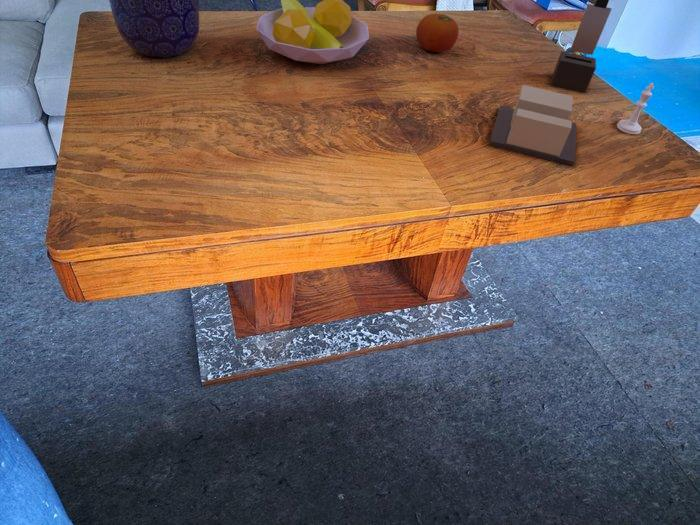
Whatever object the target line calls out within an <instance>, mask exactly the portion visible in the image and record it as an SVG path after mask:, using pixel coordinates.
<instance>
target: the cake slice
mask: <svg viewBox="0 0 700 525" xmlns="http://www.w3.org/2000/svg"><path fill="white" fill-rule="evenodd" d="M572 123H573V121H572V120H570V119H568V120H566V119H561V118H557V117H553V116H549V115H544V114H540V113H536V112H532V111H527V110H523V109H519V108H518V109H517V112H516V115H515V118H514V120H513V123H512V126H511V129H510V132H509V135H508V139H507V144H511V145H515V146H519V147H523V148H527V149H531V150H535V151H539V152H543V153H547V154H551V155H555V156H560V153H561V151H562V149H563V146H564V144H565V142H566V140H567V137H568V135H569V133H570V130H571V125H572Z"/></svg>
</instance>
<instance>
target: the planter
mask: <svg viewBox="0 0 700 525" xmlns="http://www.w3.org/2000/svg"><path fill="white" fill-rule="evenodd" d="M108 2H109V6H110V10H111V13H112V17H113V19H114V20H113V21H114V23H115V26H116V28H117V30H118V33H119V35H120V36H121V37H122V39H123V41H124V42H125V43H126V44H127V45H128V46H129V47H130V48H131V49H132V50H133V51H135V52H137V53H138V54H140V55H143V56H146V57H151V58H159V59H162V58H173V57H176V56H177V57H178V56H180V55H182V54H183V55H184V54H185V53H187V52H188V51H189V50H190V49H191V48H192V47H193V46H194V44H195V43H196V41H197V39H198V35H199V32H200V6H199V3H200V2H199V0H108Z"/></svg>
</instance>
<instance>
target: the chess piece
mask: <svg viewBox="0 0 700 525" xmlns="http://www.w3.org/2000/svg"><path fill="white" fill-rule="evenodd" d="M654 88H655V86H654V83H653V82H649V85H648V86H645V89H646V90H642V91H641V94H640V100H637V101H636V102H635V104H636V108H635V109H634V111H633V112H632V114H631V115H630V116H629V118H627V119H620V120H619V121H618V122H617V123H616V127H617V128H618V130H620V131H621V132H624V133H625V134H630V135H639V134H641V131H642V126H641V125H640V124H639V122H638V120H639V117H640V114H641V112H642V109H643V108H646V107H647V106H648V104H647V103H646V102H647V101H648V100H649V99H650V98H651V97H652V96H653V93H652V92H651V90H654Z"/></svg>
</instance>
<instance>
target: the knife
mask: <svg viewBox="0 0 700 525" xmlns="http://www.w3.org/2000/svg"><path fill="white" fill-rule="evenodd" d="M609 2H610V0H594V3H593V4H591V3H587V6H586V8H585V10H584V13H583V15H582V18H581V21H580V23H579V26H578V29H577V32H576V34H575V36H574V39H573V41H572V44H571V47H570V52H576V53H580V54H585V55H590V56H593V55H594V53H595V50H596V47H597V45H598V42H599V40H600V38H601V37H602V33H603V31H604V28H605V26H606V24H607V21H608V19H609V16H610V14H611V12H612V10H613V9H612V8H611V7H607V6H608V4H609Z"/></svg>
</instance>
